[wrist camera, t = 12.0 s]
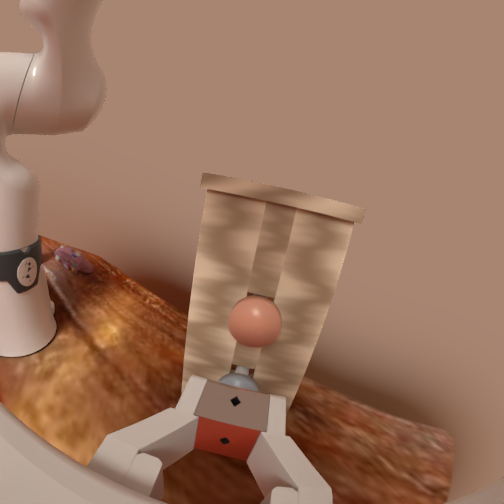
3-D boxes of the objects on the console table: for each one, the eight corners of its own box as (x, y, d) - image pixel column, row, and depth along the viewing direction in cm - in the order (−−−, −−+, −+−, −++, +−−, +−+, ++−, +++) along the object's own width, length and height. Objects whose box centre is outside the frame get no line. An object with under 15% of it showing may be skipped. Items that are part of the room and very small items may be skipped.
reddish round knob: (221, 342, 21) (230, 293, 20) (238, 297, 30) (246, 259, 28) (275, 354, 20) (290, 306, 19) (278, 306, 29) (287, 269, 28)
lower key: (210, 405, 23) (215, 374, 22) (227, 354, 32) (233, 325, 30) (255, 415, 23) (265, 385, 21) (262, 362, 31) (270, 333, 30)
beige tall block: (175, 404, 27) (202, 172, 20) (190, 372, 33) (220, 175, 27) (285, 429, 26) (365, 209, 20) (285, 394, 32) (346, 203, 26)
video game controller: (58, 271, 52) (48, 249, 48) (69, 259, 56) (60, 237, 51) (84, 284, 51) (74, 260, 46) (96, 270, 54) (87, 247, 50)
